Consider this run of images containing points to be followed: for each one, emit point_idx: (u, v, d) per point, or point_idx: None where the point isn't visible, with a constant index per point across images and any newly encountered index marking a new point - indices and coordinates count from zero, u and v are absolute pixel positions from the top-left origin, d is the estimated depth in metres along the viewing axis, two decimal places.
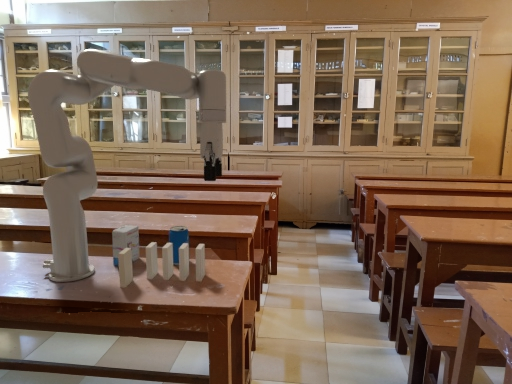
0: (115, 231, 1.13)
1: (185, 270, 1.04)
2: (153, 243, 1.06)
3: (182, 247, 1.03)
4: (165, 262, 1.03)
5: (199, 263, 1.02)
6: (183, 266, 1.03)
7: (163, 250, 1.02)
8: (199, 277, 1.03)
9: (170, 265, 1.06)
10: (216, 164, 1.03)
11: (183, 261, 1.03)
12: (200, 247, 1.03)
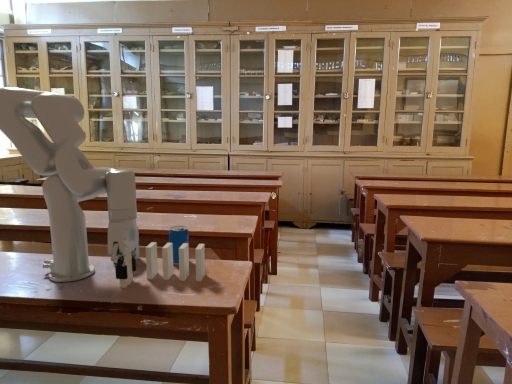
0: None
1: (185, 270, 1.04)
2: (153, 243, 1.06)
3: (182, 247, 1.03)
4: (165, 262, 1.03)
5: (199, 263, 1.02)
6: (183, 266, 1.03)
7: (163, 250, 1.02)
8: (199, 277, 1.03)
9: (170, 265, 1.06)
10: None
11: (183, 261, 1.03)
12: (200, 247, 1.03)
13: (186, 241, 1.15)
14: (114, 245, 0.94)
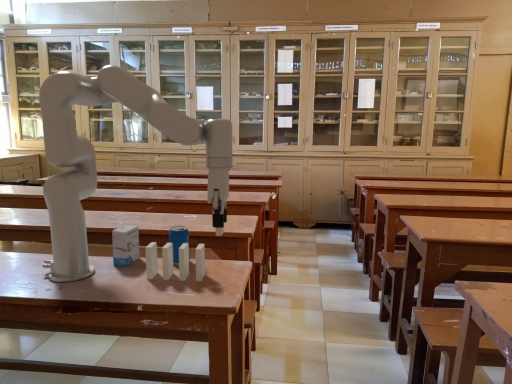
0: (115, 231, 1.13)
1: (185, 270, 1.04)
2: (153, 243, 1.06)
3: (182, 247, 1.03)
4: (165, 262, 1.03)
5: (199, 263, 1.02)
6: (183, 266, 1.03)
7: (163, 250, 1.02)
8: (199, 277, 1.03)
9: (170, 265, 1.06)
10: None
11: (183, 261, 1.03)
12: (200, 247, 1.03)
13: (186, 241, 1.15)
14: (214, 192, 0.96)
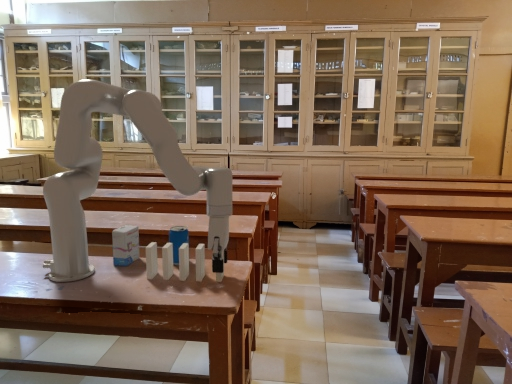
0: (115, 231, 1.13)
1: (185, 270, 1.04)
2: (153, 243, 1.06)
3: (182, 247, 1.03)
4: (165, 262, 1.03)
5: (199, 263, 1.02)
6: (183, 266, 1.03)
7: (163, 250, 1.02)
8: (199, 277, 1.03)
9: (170, 265, 1.06)
10: None
11: (183, 261, 1.03)
12: (200, 247, 1.03)
13: (186, 241, 1.15)
14: (215, 239, 0.98)
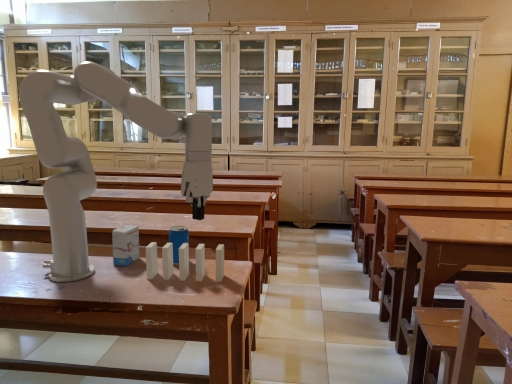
0: (115, 231, 1.13)
1: (185, 270, 1.04)
2: (153, 243, 1.06)
3: (182, 247, 1.03)
4: (165, 262, 1.03)
5: (199, 263, 1.02)
6: (183, 266, 1.03)
7: (163, 250, 1.02)
8: (199, 277, 1.03)
9: (170, 265, 1.06)
10: None
11: (183, 261, 1.03)
12: (200, 247, 1.03)
13: (186, 241, 1.15)
14: (187, 187, 0.97)
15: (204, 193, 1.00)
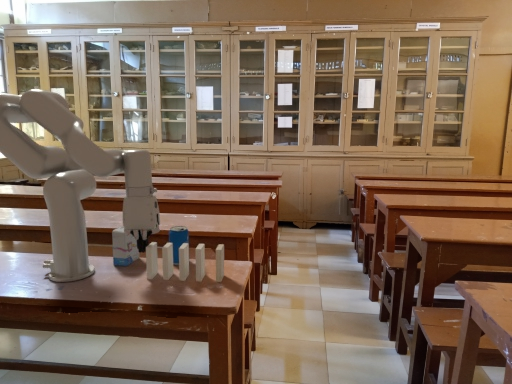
0: (115, 231, 1.13)
1: (185, 270, 1.04)
2: (153, 243, 1.06)
3: (182, 247, 1.03)
4: (165, 262, 1.03)
5: (199, 263, 1.02)
6: (183, 266, 1.03)
7: (163, 250, 1.02)
8: (199, 277, 1.03)
9: (170, 265, 1.06)
10: None
11: (183, 261, 1.03)
12: (200, 247, 1.03)
13: (186, 241, 1.15)
14: None
15: (139, 227, 1.02)
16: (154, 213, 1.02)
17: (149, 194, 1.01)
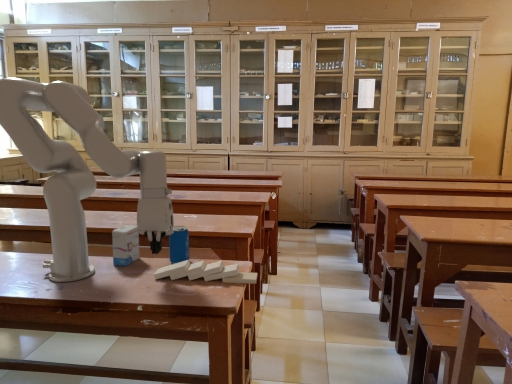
0: (115, 231, 1.13)
1: None
2: (188, 263, 1.07)
3: (220, 267, 1.03)
4: (187, 273, 1.03)
5: (222, 276, 1.03)
6: (203, 275, 1.03)
7: (198, 268, 1.03)
8: (208, 278, 1.03)
9: None
10: None
11: (208, 274, 1.03)
12: (237, 271, 1.04)
13: (186, 241, 1.15)
14: None
15: (153, 229, 1.02)
16: (168, 215, 1.01)
17: (164, 195, 1.01)
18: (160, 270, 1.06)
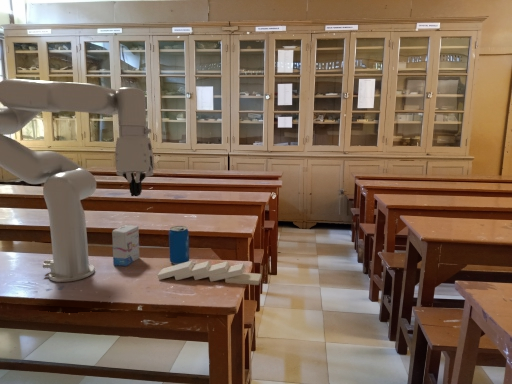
0: (115, 231, 1.13)
1: None
2: (192, 264, 1.07)
3: (226, 268, 1.03)
4: (192, 273, 1.03)
5: (227, 276, 1.02)
6: (208, 275, 1.03)
7: (203, 268, 1.03)
8: (213, 278, 1.03)
9: None
10: None
11: (213, 274, 1.03)
12: (242, 270, 1.03)
13: (186, 241, 1.15)
14: None
15: (131, 169, 0.99)
16: (148, 154, 0.99)
17: (143, 134, 0.98)
18: (164, 270, 1.06)
